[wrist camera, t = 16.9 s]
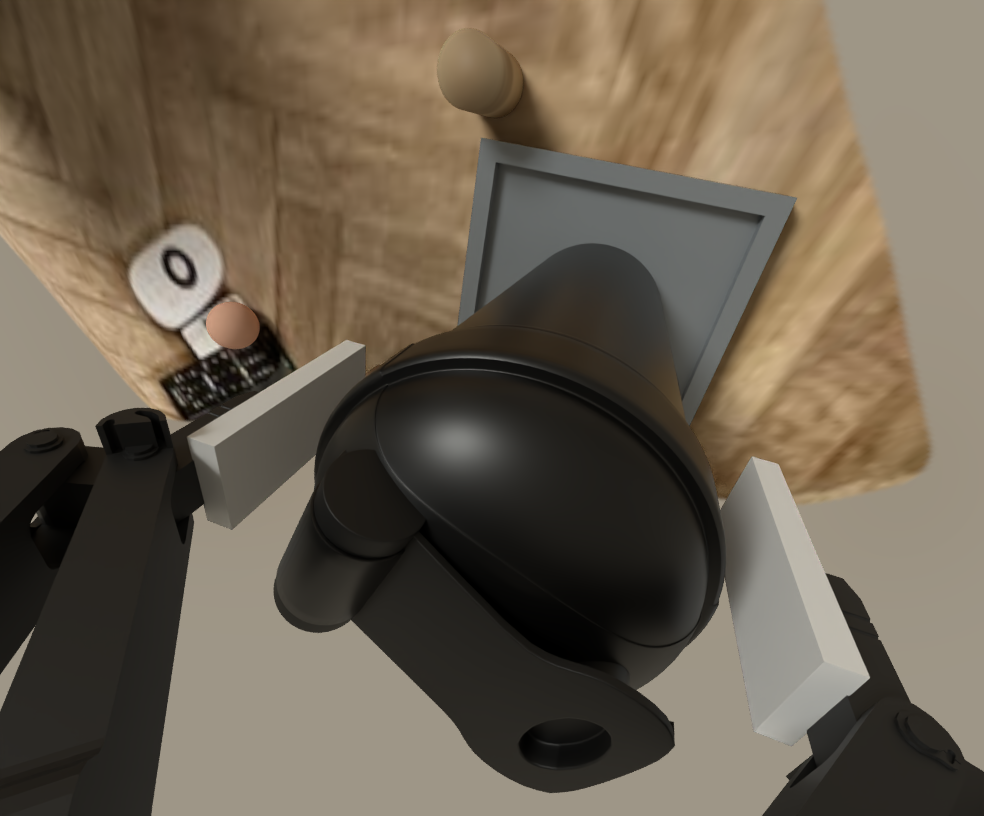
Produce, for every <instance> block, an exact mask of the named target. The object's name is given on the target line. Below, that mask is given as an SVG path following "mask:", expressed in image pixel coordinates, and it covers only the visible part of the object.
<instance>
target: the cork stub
mask: <svg viewBox="0 0 984 816" xmlns="http://www.w3.org/2000/svg"><path fill="white" fill-rule="evenodd" d="M437 77H438V82H439V86H440V88H441V91H442V93H443V95H444V96H445V98H446V99H447V100H448V101H449V103H451V104H452V105H453V106H455V107H456V108H458V109H461V110H465V111H468V112H472V113H476V114H479V115H483V116H487V117H490V118H500V117H503V116H506V115H507V114H509V113H510V112H511V111H512V110H513V109H514V108H515V107H516V105H517V104H518V102H519V100H520V97H521V94H522V90H523V75H522V70H521V67H520V65H519V63H518V61H517V60H516V59H515V57H514V56H513V55H512V54H510V53H509V52H508V51H506V50H505V49H504V48H503V47H501V46H500V45H499V44H497V43H496V42H495V41H494V40H492V39H491V38H490V37H488V36H487V35H486V34H485V33H483V32H481V31H480V30H477V29H474V28H464V29H461V30H458V31H456V32H455V33H453V34H452V35H451V36H450V37H449V38H448V39H447V40H446V42H445V43H444V45H443V47H442V49H441V51H440V54H439V58H438V64H437Z"/></svg>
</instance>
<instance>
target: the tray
mask: <svg viewBox="0 0 984 816" xmlns="http://www.w3.org/2000/svg"><path fill="white" fill-rule="evenodd" d="M796 200H797V198H795V197H791V196H787V195H781V194H776V193H771V192H766V191H760V190H755V189H750V188H745V187H739V186H734V185H729V184H724V183H718V182H713V181H708V180H703V179H697V178H692V177H687V176H682V175H676V174H671V173H666V172H661V171H655V170H650V169H645V168H640V167H634V166H629V165H624V164H619V163H613V162H608V161H603V160H598V159H592V158H587V157H582V156H577V155H571V154H566V153H561V152H556V151H550V150H545V149H540V148H535V147H529V146H524V145H519V144H514V143H508V142H503V141H498V140H493V139H487V138H481V143H480V151H479V159H478V167H477V175H476V183H475V191H474V199H473V207H472V215H471V223H470V231H469V239H468V247H467V255H466V263H465V270H464V278H463V286H462V294H461V302H460V310H459V318H458V325H460V324H461V323H462V322H464V321H465V320H466V319H468V318H469V317H470V316H472V315H473V314H474V313H476V312H477V311H478V310H480V309H481V308H482V307H484V306H485V305H486V304H488V303H489V302H490V301H492V300H493V299H494V298H496V297H497V296H498V295H500V294H501V293H502V292H504V291H505V290H506V289H508V288H509V287H510V286H512V285H513V284H514V283H516V282H517V281H518V280H520V279H521V278H522V277H524V276H525V275H526V274H528V273H529V272H530V271H532V270H533V269H534V268H536V267H537V266H538V265H540V264H541V263H542V262H544V261H545V260H546V259H548V258H549V257H550V256H552V255H553V254H555V253H557V252H559V251H561V250H563V249H565V248H568V247H571V246H575V245H579V244H587V243H597V244H605V245H610V246H613V247H616V248H619V249H622V250H624V251H626V252H627V253H629V254H631V255H632V256H634V257H635V258H636V259H638V260H639V261H640V262H641V263H642V264H643V265H644V266H645V267H646V268H647V270H648V271H649V272H650V274H651V275H652V277H653V279H654V281H655V283H656V285H657V288H658V291H659V294H660V299H661V303H662V308H663V313H664V318H665V323H666V328H667V332H668V337H669V342H670V347H671V352H672V354H673V361H674V366H675V369H676V373H677V378H678V381H679V383H678V384H679V390H680V395H681V400H682V405H683V410H684V415H685V419H686V422H687V423H688V425H689V426H690V424H691V422H692V420H693V418H694V415H695V413H696V411H697V409H698V407H699V405H700V403H701V401H702V398H703V396H704V394H705V392H706V390H707V388H708V386H709V384H710V382H711V379H712V377H713V375H714V373H715V371H716V369H717V367H718V365H719V362H720V360H721V358H722V356H723V354H724V352H725V350H726V348H727V346H728V343H729V341H730V339H731V337H732V335H733V333H734V331H735V329H736V327H737V324H738V322H739V320H740V318H741V316H742V314H743V312H744V310H745V307H746V305H747V303H748V301H749V299H750V297H751V295H752V293H753V291H754V288H755V286H756V284H757V282H758V280H759V278H760V276H761V274H762V271H763V269H764V267H765V265H766V263H767V261H768V259H769V257H770V255H771V252H772V250H773V248H774V246H775V244H776V242H777V240H778V238H779V235H780V233H781V231H782V229H783V227H784V225H785V223H786V221H787V219H788V216H789V214H790V212H791V210H792V208H793V206H794V204H795V202H796Z"/></svg>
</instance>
